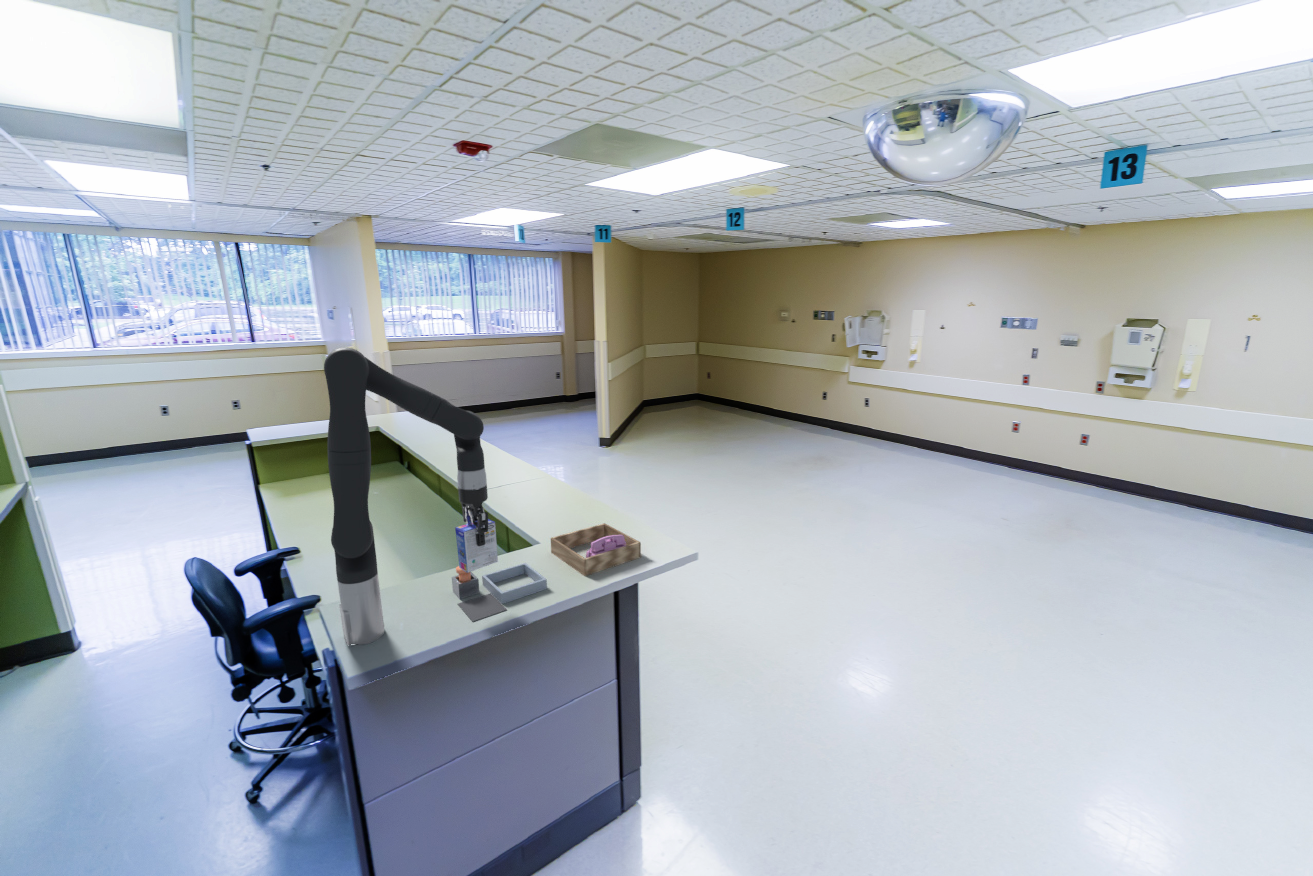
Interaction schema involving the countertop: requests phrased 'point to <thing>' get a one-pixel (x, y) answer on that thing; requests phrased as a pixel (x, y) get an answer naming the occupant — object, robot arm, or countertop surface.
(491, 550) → the ink cartridge box
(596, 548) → the toy telephone
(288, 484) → the countertop surface
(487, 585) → the collar
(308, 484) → the countertop surface
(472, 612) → the mat
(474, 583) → the button housing
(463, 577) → the release button
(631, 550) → the phone corral
